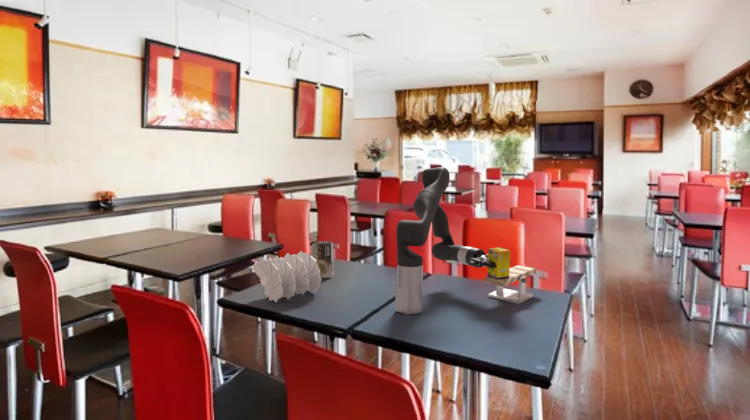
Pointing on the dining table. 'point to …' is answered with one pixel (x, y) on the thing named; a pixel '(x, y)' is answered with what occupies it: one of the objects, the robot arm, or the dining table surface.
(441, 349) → the dining table surface
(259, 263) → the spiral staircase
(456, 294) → the dining table surface
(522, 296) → the beam stand
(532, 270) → the beam
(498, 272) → the supplement box
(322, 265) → the coffee box
